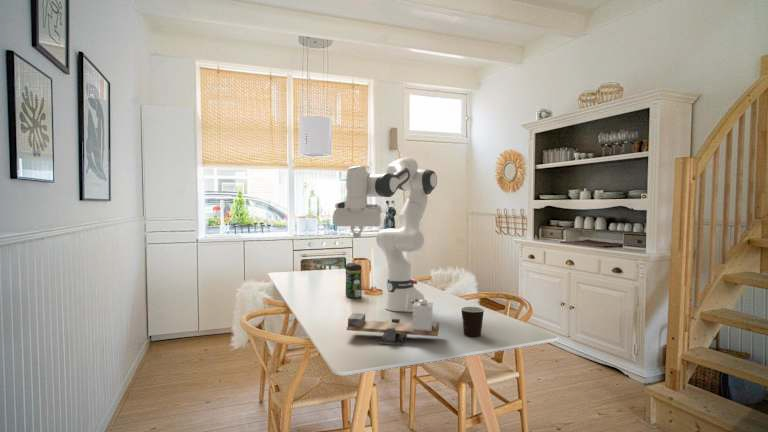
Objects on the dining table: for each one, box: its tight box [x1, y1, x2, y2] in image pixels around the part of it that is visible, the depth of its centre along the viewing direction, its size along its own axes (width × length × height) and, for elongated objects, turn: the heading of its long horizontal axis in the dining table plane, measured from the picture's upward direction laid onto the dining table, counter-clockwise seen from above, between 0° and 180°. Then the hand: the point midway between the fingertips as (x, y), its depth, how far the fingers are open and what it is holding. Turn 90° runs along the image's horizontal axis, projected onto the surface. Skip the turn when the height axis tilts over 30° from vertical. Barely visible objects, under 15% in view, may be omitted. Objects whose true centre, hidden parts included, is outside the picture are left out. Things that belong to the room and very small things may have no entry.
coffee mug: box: [461, 306, 485, 338], centre depth 164 cm, size 12×9×10 cm
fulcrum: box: [379, 318, 406, 347], centre depth 159 cm, size 8×16×6 cm, turn 171°
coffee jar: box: [345, 262, 362, 299], centre depth 230 cm, size 10×8×19 cm
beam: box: [346, 312, 440, 337], centre depth 159 cm, size 34×10×4 cm, turn 81°
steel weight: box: [411, 299, 434, 332], centre depth 157 cm, size 7×7×10 cm
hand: (356, 237), depth 175 cm, fingers closed
